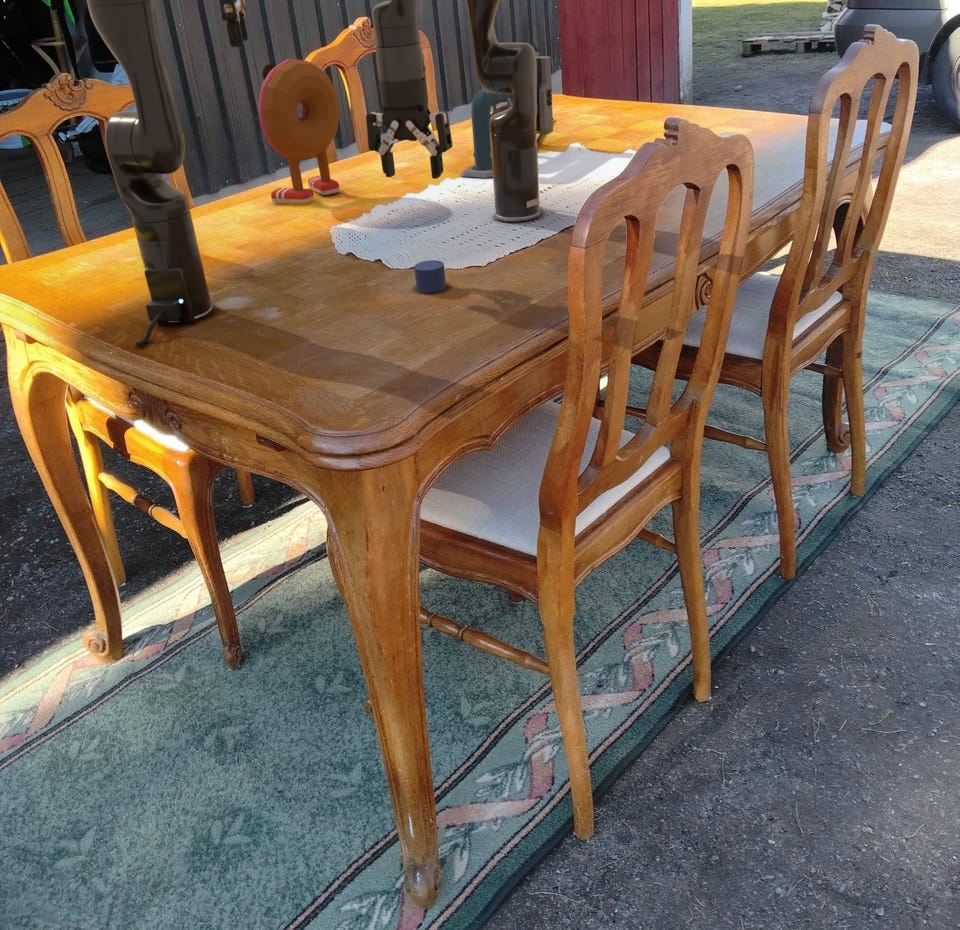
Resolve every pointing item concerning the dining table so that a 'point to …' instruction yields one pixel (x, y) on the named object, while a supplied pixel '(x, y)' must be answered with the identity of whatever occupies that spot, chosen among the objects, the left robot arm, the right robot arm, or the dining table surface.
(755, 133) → the dining table surface
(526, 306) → the dining table surface
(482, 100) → the clamp
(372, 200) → the dining table surface
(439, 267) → the canister
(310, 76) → the toy
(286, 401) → the dining table surface
